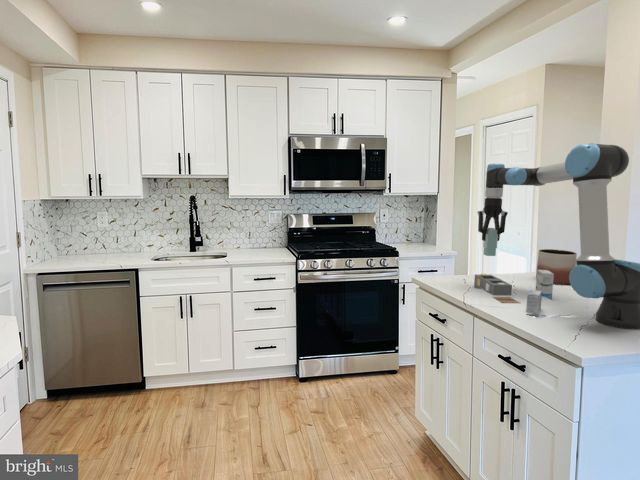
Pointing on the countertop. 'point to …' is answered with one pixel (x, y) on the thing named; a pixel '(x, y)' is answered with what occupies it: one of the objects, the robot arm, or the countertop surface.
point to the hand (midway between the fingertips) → (490, 247)
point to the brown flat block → (506, 300)
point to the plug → (491, 242)
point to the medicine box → (534, 302)
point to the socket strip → (492, 284)
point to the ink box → (545, 283)
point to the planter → (557, 264)
